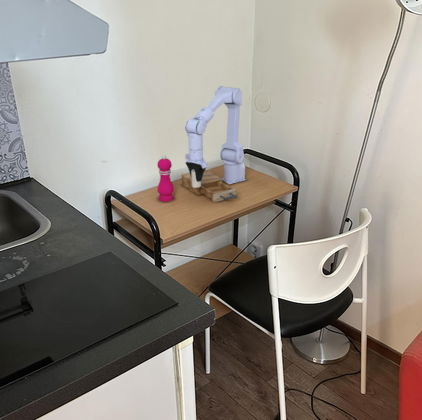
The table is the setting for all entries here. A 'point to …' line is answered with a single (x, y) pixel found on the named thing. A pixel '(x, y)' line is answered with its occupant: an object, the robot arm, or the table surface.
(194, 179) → the spice jar
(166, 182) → the pepper mill
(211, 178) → the cabinet
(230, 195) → the drawer
